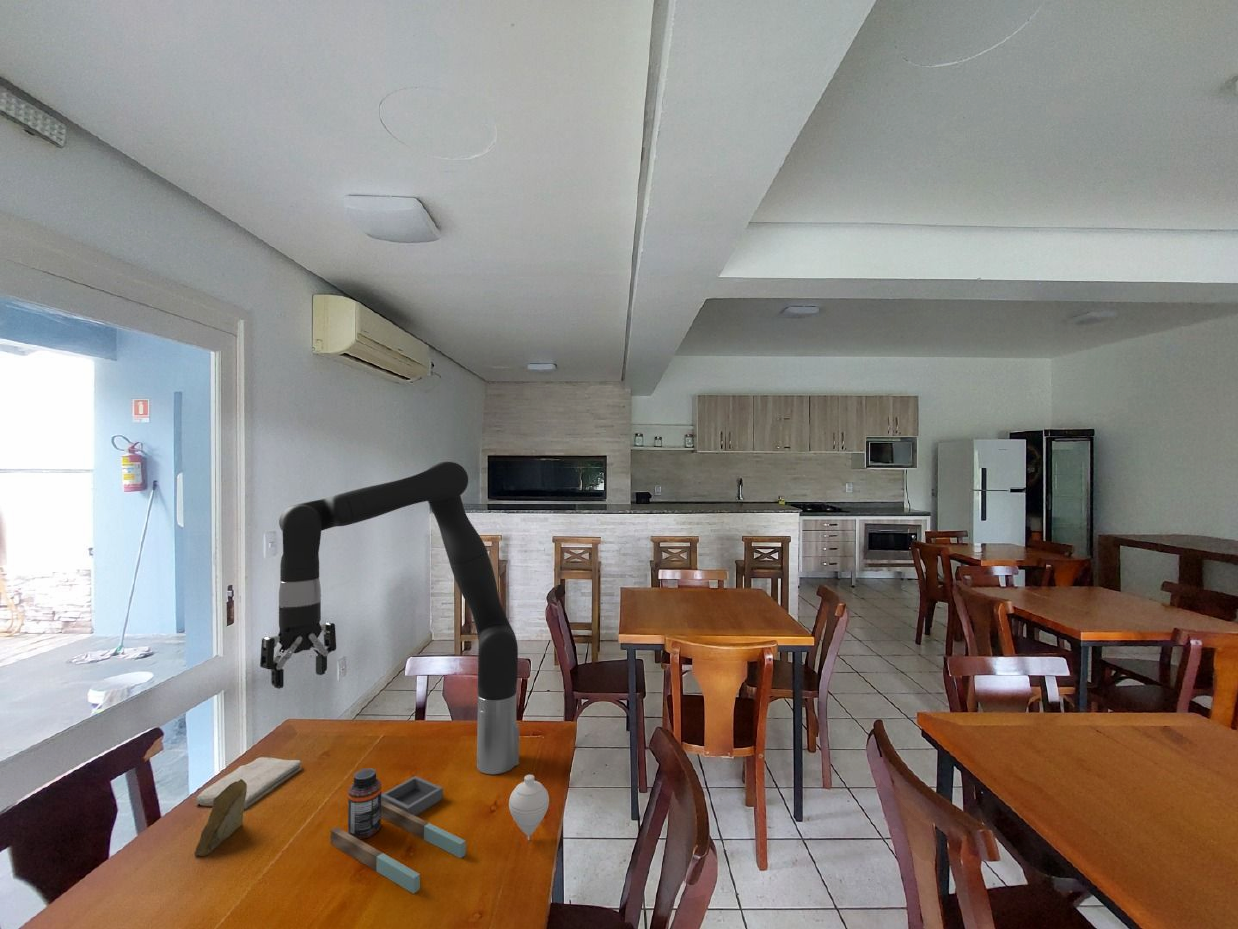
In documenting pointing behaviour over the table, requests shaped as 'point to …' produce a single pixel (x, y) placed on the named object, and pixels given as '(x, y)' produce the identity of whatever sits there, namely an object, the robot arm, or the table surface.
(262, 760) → the washcloth
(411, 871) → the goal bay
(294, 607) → the robot arm
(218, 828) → the rock
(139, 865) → the table surface
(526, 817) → the spinning top
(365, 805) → the supplement bottle
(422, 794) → the grey square tray
